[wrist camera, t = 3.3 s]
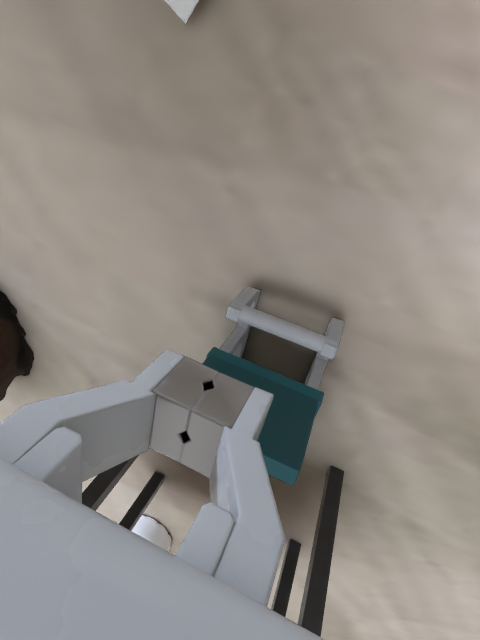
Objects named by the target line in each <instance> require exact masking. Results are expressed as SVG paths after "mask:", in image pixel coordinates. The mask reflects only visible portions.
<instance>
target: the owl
mask: <svg viewBox="0 0 480 640" xmlns="http://www.w3.org/2000/svg"><path fill="white" fill-rule="evenodd" d="M16 314H17V310H16V309H15V307H14V306H13V305H12V304H11V303H10V301H9V300H8V298H7V297H6V295H5V294H4V293H2V292H1V291H0V401H1V400H3V398H4V397H5V395H6V390H7V388H8V386H9V385H10V384H11V382H12V381H13V379H14V378H15V377H16V376H19V375H23V376H26V375H29V374H30V369H31V368H32V362H33V360H34V357H33V352H32V350H31V349H30V347H29V346H28V345H27V343H26V341H25V340H24V336H25V335H26V333H25V331H24V329H23V328H22V327H21V326H20V324H19V322H18V320H17V317H16V316H15V315H16Z"/></svg>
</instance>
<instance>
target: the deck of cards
mask: <svg viewBox="0 0 480 640" xmlns="http://www.w3.org/2000/svg"><path fill="white" fill-rule="evenodd" d="M164 1H165V2H166V3H167V4H168V5H169V6H170V7H171V8H172V9H173V11H174V12H175V13H176V14H177V15H178V16H179V17H180V18H181V19H182V20H183V22H184V23H185V24H186V22H187V21H188V19H189V17H190V15H191V13H192V12H193V10H194V8H195V6H196V4H197V3H198V1H199V0H164Z"/></svg>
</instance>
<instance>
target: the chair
mask: <svg viewBox="0 0 480 640" xmlns="http://www.w3.org/2000/svg"><path fill="white" fill-rule="evenodd" d="M259 295H260V290H258V289H255V288H252V287H250V286H247V287H246V288H245V289H244V290H243V291H242V292H241V293H240V294H239V295H238V296H237V297H236V298H235V300H234V301H232V302H231V303H230V305H229V306H228V309H227V313H226V318H228V319H231V320H233V321H236V322H238V324H237V327H236V329H235V330H234V331H233V332H232V334H231V335H230V336H229V338H228V339H227V340H226V341H225V343H224V344H223V345H222V346H221V348H220V349H218V348H216V347H213V348H212V350H211V351H210V352H209V353H208V354H207V358H206V360H205V361H204V363H203V365H205V366H208V367H210V368H212V369H214V370H216V371H218V372H220V373H223V374H225V375H227V376H230V377H232V378H234V379H237V380H239V381H241V382H244V383H246V384H248V385H251V386H253V387H257V388H259V389H262V390H264V391H266V392H269V393H271V394H273V395H274V397H273V401H272V403H271V406H270V409H269V411H268V414H267V417H266V419H265V422H264V425H263V427H262V430H261V433H260V435H259V438H258V440H257V441H258V442H259V443H260V447H261V451H262V454H263V458H264V462H265V465H266V469H267V473H268V474H269V475H271V476H273V477H275V478H277V479H279V480H281V481H283V482H286V483H288V484H290V485H292V486H293V485H294V483H295V481H296V479H297V477H298V475H299V473H300V469H301V466H302V462H303V458H304V455H305V451H306V447H307V444H308V440H309V436H310V433H311V429H312V425H313V421H314V418H315V416H316V414H317V412H318V410H319V407H320V405H321V403H322V400H323V396H324V392H322V391H319V390H318V389H319V386H320V382H321V379H322V375H323V372H324V368H325V365H326V363H327V361H328V359H332V360H333V359H334V357H335V354H336V352H337V350H338V347H339V344H340V338H341V334H342V330H343V326H344V321H341V320H339V319H336V318H333V317H332V318H331V320H330V322H329V325H328V327H327V330H326V332H325V334H324V335H322V334H319V333H316V332H314V331H311V330H309V329H306V328H303V327H301V326H298V325H295V324H293V323H290V322H288V321H285V320H282V319H280V318H277V317H275V316H272V315H269V314H267V313H264V312H262V311H259V310H256V305H257V302H258V298H259ZM250 326H253V327H256V328H258V329H261V330H263V331H266V332H269V333H271V334H274V335H276V336H279V337H281V338H284V339H286V340H289V341H291V342H294V343H296V344H299V345H302V346H304V347H307V348H309V349H312V350H314V351H317V354H316V356H315V359H314V361H313V363H312V366H311V368H310V371H309V373H308V375H307V378H306V380H305V383H304V384H302V383H300V382H298V381H295V380H293V379H290V378H288V377H285V376H283V375H281V374H278V373H276V372H273V371H271V370H269V369H266V368H264V367H261V366H259V365H257V364H254V363H252V362H249V361H247V360H244V359H242V355H243V351H244V348H245V344H246V341H247V337H248V333H249V330H250Z"/></svg>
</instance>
